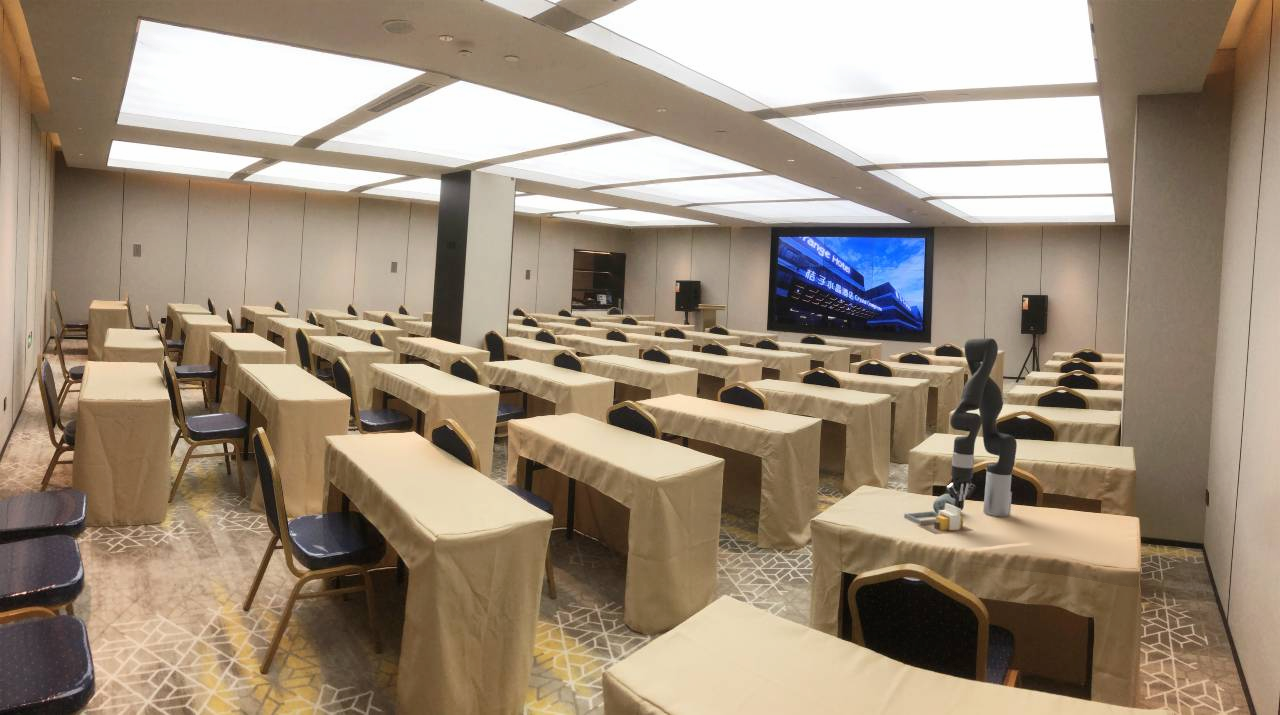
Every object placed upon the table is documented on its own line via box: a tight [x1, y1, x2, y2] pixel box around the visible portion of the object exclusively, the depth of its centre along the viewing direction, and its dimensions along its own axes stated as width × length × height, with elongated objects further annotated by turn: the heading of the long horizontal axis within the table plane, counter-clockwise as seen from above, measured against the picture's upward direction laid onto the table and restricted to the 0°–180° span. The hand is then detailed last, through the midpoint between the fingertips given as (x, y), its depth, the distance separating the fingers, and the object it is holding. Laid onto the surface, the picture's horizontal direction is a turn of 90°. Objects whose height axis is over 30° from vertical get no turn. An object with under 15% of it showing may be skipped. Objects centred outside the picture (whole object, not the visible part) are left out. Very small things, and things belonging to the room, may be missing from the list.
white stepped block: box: [938, 503, 962, 530], centre depth 273 cm, size 4×7×8 cm, turn 20°
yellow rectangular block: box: [935, 515, 963, 530], centre depth 273 cm, size 9×4×4 cm, turn 110°
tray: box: [903, 510, 938, 525], centre depth 282 cm, size 14×9×2 cm
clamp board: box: [916, 520, 973, 535], centre depth 273 cm, size 18×10×3 cm, turn 110°
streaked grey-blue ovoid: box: [932, 493, 955, 513], centre depth 293 cm, size 14×10×10 cm
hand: (958, 509), depth 274 cm, fingers closed
